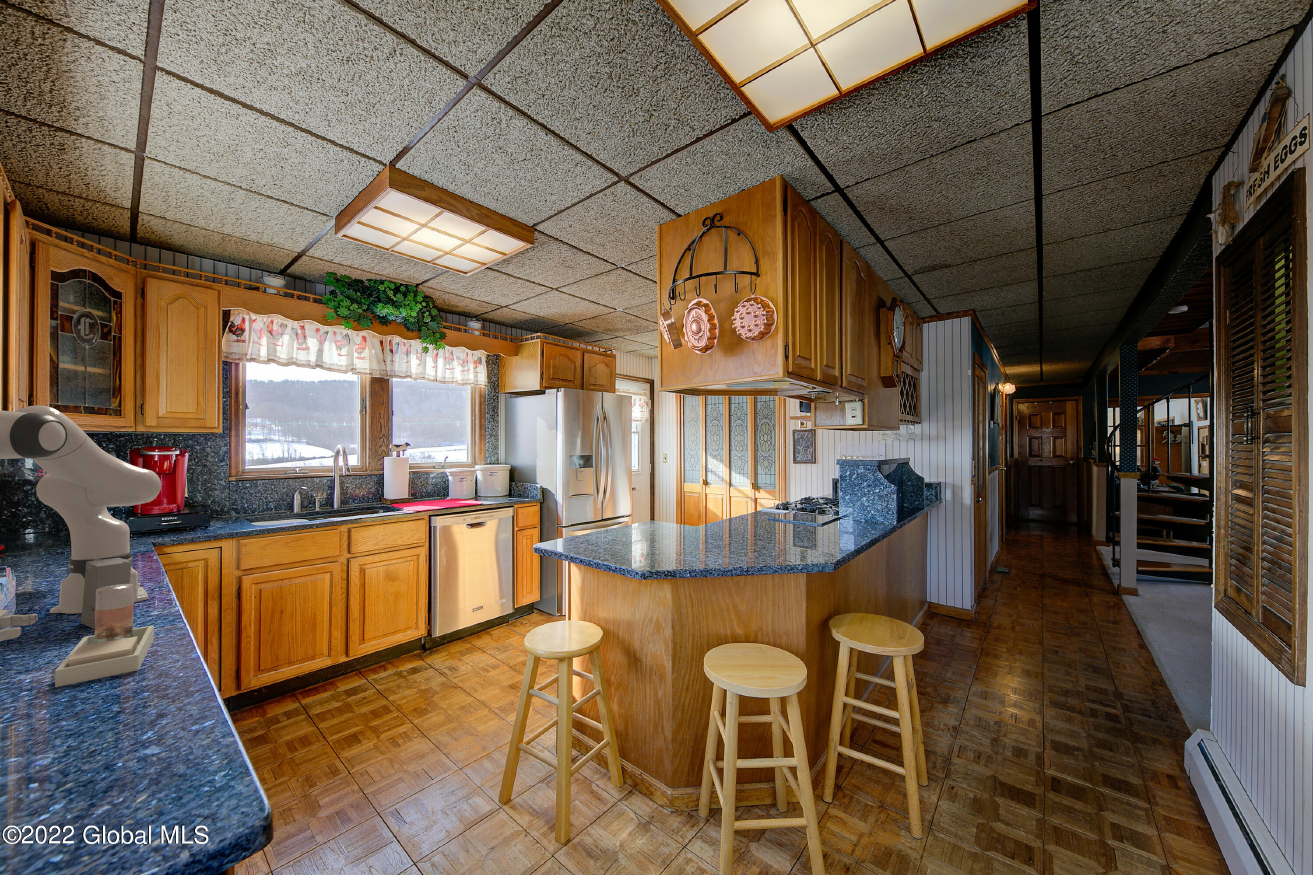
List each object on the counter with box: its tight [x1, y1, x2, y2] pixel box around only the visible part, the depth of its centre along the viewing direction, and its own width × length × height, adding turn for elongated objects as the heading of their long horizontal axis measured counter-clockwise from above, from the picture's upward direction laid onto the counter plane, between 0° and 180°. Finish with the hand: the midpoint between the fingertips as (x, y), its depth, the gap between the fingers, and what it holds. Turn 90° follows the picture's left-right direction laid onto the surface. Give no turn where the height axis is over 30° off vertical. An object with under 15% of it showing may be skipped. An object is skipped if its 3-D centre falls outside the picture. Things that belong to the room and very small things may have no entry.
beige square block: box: [68, 636, 138, 667], centre depth 101 cm, size 8×8×4 cm
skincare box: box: [80, 558, 132, 629], centre depth 129 cm, size 8×7×16 cm
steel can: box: [94, 584, 135, 644], centre depth 108 cm, size 6×6×14 cm
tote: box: [54, 624, 155, 688], centre depth 104 cm, size 21×11×4 cm, turn 39°
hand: (28, 624), depth 100 cm, fingers open, 8 cm apart
